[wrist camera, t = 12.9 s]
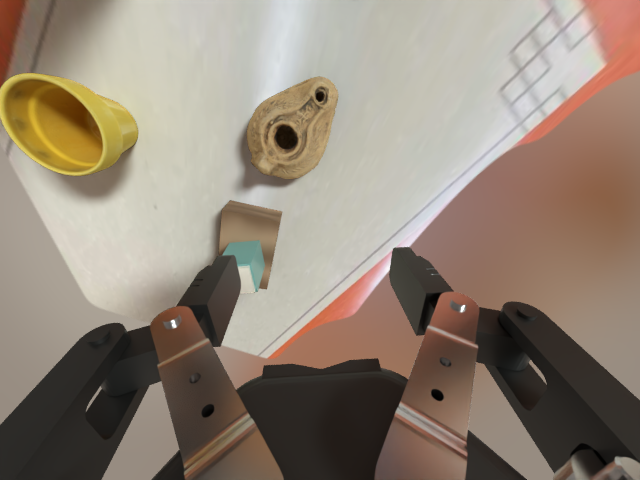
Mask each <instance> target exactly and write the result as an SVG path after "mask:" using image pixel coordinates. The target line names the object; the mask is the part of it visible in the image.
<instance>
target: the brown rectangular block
mask: <svg viewBox="0 0 640 480" xmlns="http://www.w3.org/2000/svg"><path fill="white" fill-rule="evenodd" d="M281 215H282V211H277V210H272V209H268V208H263V207H259V206H254V205H249V204H245V203H240V202H235V201H231V200H230V201H229V202H228V203H227V205H226V206H225V207H224V208H223V209H222V216H221V229H220V243H219V256H220V255H223V253H224V251H225V250H226V248H227V246H228V245H229V243H233V242H245V241H257V240H260V244H261V249H262V254H263V258H264V263H265V267H264V271H263V274H262V278H261V282H260V285H259V288H261V289H267V286H268V281H269V277H270V272H271V267H272V262H273V257H274V251H275V246H276V241H277V236H278V231H279V226H280V221H281Z"/></svg>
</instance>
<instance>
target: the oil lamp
mask: <svg viewBox="0 0 640 480" xmlns="http://www.w3.org/2000/svg"><path fill="white" fill-rule="evenodd" d="M337 101H338V91H337V89H336V88H335V85H334V84H333V83H332V82H331V81H330V80H329V79H326V78H324V77H315V78H311V79H308V80H306V81H303V82H301V83H299V84H296V85H294V86H292V87H290V88H288V89H286V90H284V91H282V92H280V93H278V94H276V95H274V96H272V97H270V98H268V99H267V100H265V101H264V102H262V103H261V104H260V105H259V106H258V107H257V108H256V110H255V112H254V114H253V116H252V118H251V120H250V122H249V124H248V129H247V142H248V147H249V150H250V152H251V153H252V159H251V163H252V164H253V165H254V166H255V167H256V168H257V169H258V170H259V171H260V172H261V173H263V174H266V175H269V176H271V175H272V176H277V177H280V178H284V179H294V178H299V177H302V176H303V175H305V174H307V173H308V172H309V171H311V170H312V169H313V168H315V167H316V166H317V165H318V163H319V161H320V159H321V157H322V156H323V154H324V151H325V148H326V146H327V143H328V139H329V135H330V130H331V125H332V120H333V117H334V114H335V108H336V105H337Z"/></svg>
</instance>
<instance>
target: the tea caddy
mask: <svg viewBox="0 0 640 480" xmlns="http://www.w3.org/2000/svg"><path fill="white" fill-rule="evenodd" d="M223 255H234V256H235V257H236V261H237V266H238V270H239V275H240V279H241V291H240V294H245V293H255V292H257V291H258V289H259V285H260V282H261V278H262V274H263V271H264V267H265V263H264V258H263V254H262V249H261V244H260V240H257V241H245V242H233V243H229V245H228V246H227V248H226V250H225V251H224V253H223Z"/></svg>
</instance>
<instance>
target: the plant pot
mask: <svg viewBox="0 0 640 480" xmlns="http://www.w3.org/2000/svg"><path fill="white" fill-rule="evenodd" d="M0 119H1V121H2V124H3V126H4V128H5V130H6V131H7V133H8V134H9V136H10V137H11V139H12V140H13V141H14V143H15V144H16V145H17V146H18V147H19V148H20V149H21V150H22V151H23V152H24V153H25V154H26V155H27V156H29V157H30V158H31V159H32V160H34V161H35V162H37V163H38V164H40V165H42V166H43V167H45V168H47V169H49V170H52V171H54V172H57V173H60V174H64V175H70V176H84V175H89V174H92V173H96V172H99V171H101V170H104V169H106V168H109V167H110V166H112V165H113V164H114V163H116V161H117V160H118V159H119V157H120V155H121V153H123V152H124V151H126V150H127V149H129V148H130V147H132V146H133V145H134V144H135V142H136V140H137V138H138V128H137V125H136V122H135V120H134V118H133V117H132V115H131V114H130V113H129V112H128V111H127V110H126V109H125V108H124V107H123V106H122V105H120V104H119V103H117V102H115V101H113V100H110V99H108V98H105V97H102V96H100V95H97V94H95V93H94V92H93V91H91V90H90V89H88V88H87V87H85V86H83V85H81V84H79V83H77V82H75V81H72V80H69V79H65V78H61V77H56V76H51V75H44V74H37V73H22V74H18V75H15V76H13V77H11V78H9V79H8V80H7V81H6V82H5V83H4V84H3V85H2V86H1V88H0Z"/></svg>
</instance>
